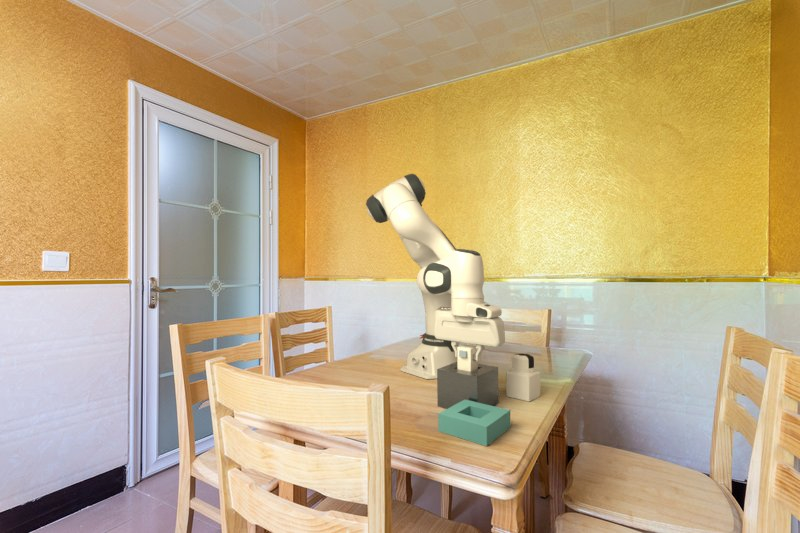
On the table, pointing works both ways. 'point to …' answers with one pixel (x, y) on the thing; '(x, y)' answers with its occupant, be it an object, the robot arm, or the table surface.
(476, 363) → the plug
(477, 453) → the table surface
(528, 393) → the medicine bottle
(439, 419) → the block
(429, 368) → the robot arm
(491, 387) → the dark grey square frame
